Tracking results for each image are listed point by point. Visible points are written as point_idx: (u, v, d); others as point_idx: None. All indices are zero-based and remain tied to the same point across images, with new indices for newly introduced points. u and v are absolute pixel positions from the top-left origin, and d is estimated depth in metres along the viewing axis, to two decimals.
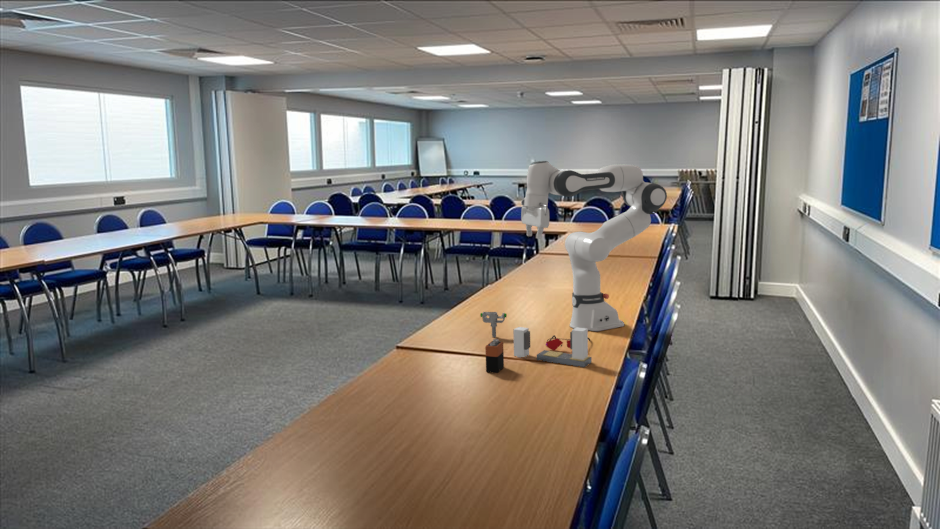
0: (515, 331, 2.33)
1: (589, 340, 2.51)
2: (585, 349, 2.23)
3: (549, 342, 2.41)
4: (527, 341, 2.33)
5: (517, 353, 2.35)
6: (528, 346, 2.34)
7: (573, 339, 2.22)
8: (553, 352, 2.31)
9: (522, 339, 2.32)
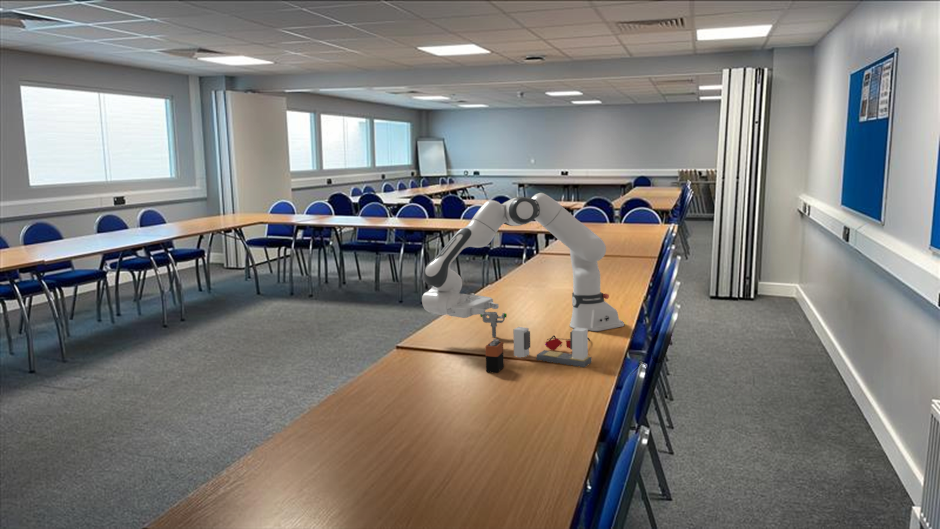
0: (515, 331, 2.33)
1: (589, 340, 2.51)
2: (585, 349, 2.23)
3: (548, 342, 2.41)
4: (527, 341, 2.33)
5: (517, 353, 2.35)
6: (528, 346, 2.34)
7: (573, 339, 2.22)
8: (553, 352, 2.31)
9: (522, 339, 2.32)
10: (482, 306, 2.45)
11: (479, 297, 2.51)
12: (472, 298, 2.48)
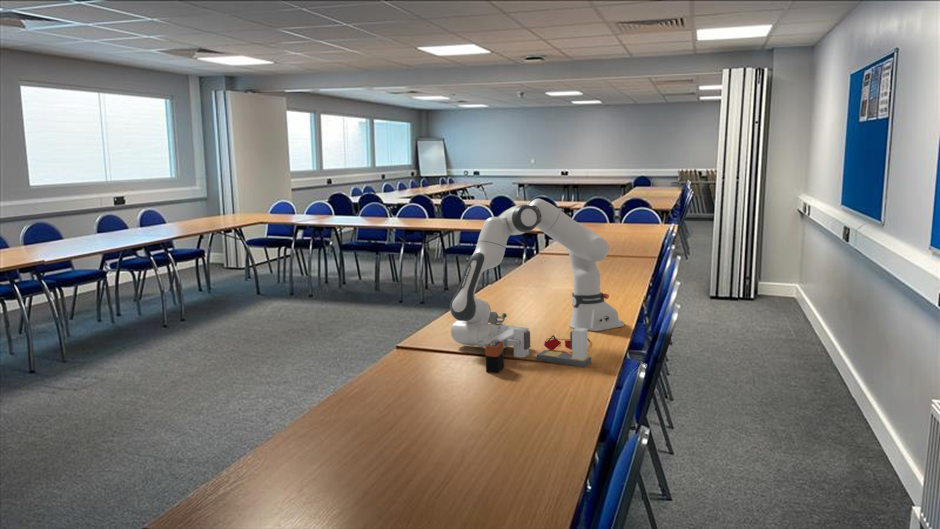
0: (515, 331, 2.33)
1: (588, 340, 2.51)
2: (585, 349, 2.23)
3: (547, 342, 2.42)
4: (527, 341, 2.33)
5: (517, 353, 2.35)
6: (528, 346, 2.34)
7: (573, 339, 2.22)
8: (553, 352, 2.31)
9: (522, 339, 2.32)
10: None
11: (510, 327, 2.46)
12: (502, 329, 2.43)
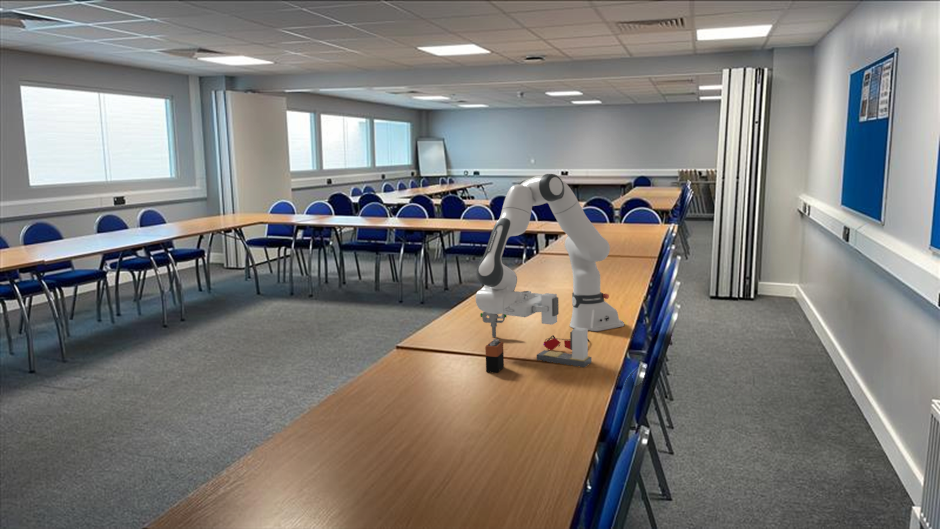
0: (543, 297, 2.26)
1: (588, 340, 2.51)
2: (585, 349, 2.23)
3: (547, 342, 2.42)
4: (555, 307, 2.26)
5: (545, 320, 2.27)
6: (556, 312, 2.27)
7: (573, 339, 2.22)
8: (553, 352, 2.31)
9: (550, 305, 2.25)
10: None
11: (536, 295, 2.38)
12: (529, 296, 2.36)
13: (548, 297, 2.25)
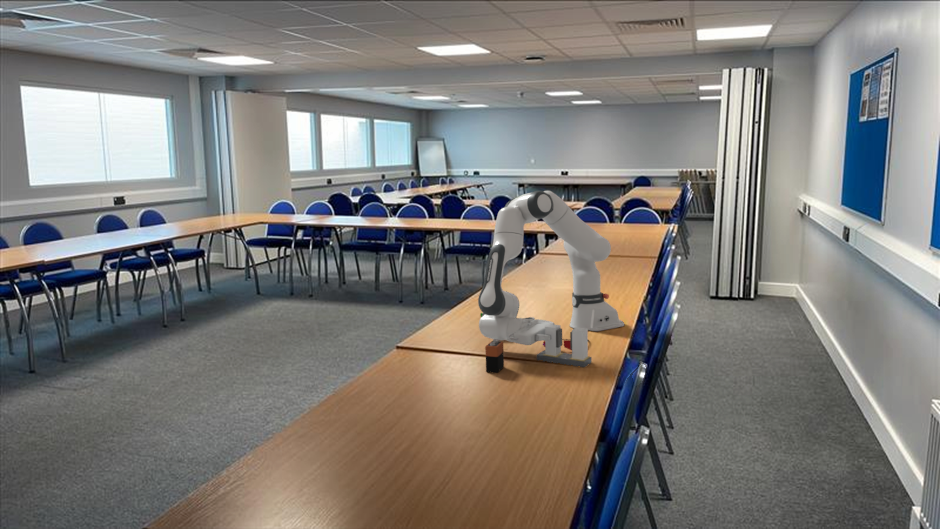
0: (547, 328, 2.27)
1: None
2: (585, 349, 2.23)
3: None
4: (559, 339, 2.27)
5: (548, 351, 2.28)
6: (560, 344, 2.28)
7: (573, 339, 2.22)
8: None
9: (554, 336, 2.26)
10: (544, 331, 2.33)
11: (540, 321, 2.39)
12: (533, 323, 2.37)
13: (552, 329, 2.26)
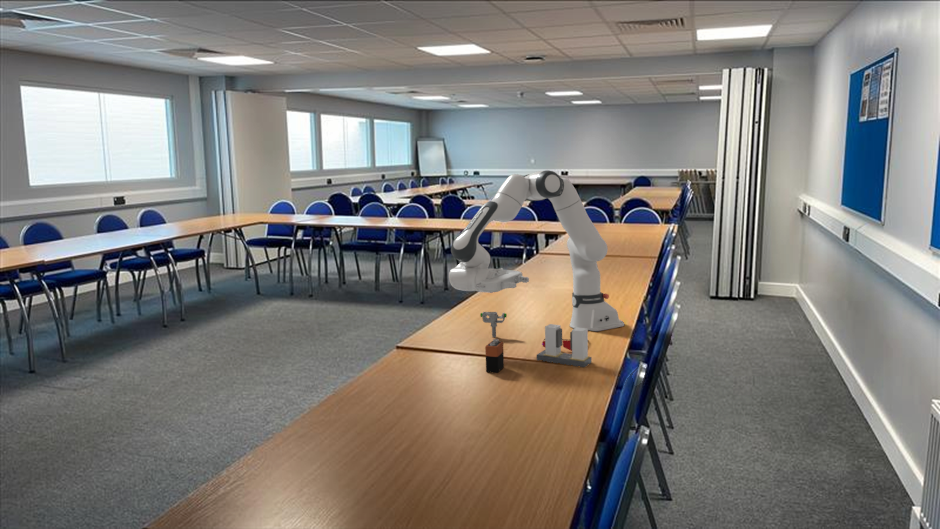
0: (547, 328, 2.27)
1: None
2: (585, 349, 2.23)
3: None
4: (559, 339, 2.27)
5: (548, 351, 2.28)
6: (560, 344, 2.28)
7: (573, 339, 2.22)
8: None
9: (554, 336, 2.26)
10: (512, 280, 2.37)
11: (508, 271, 2.43)
12: (500, 273, 2.41)
13: (552, 329, 2.26)
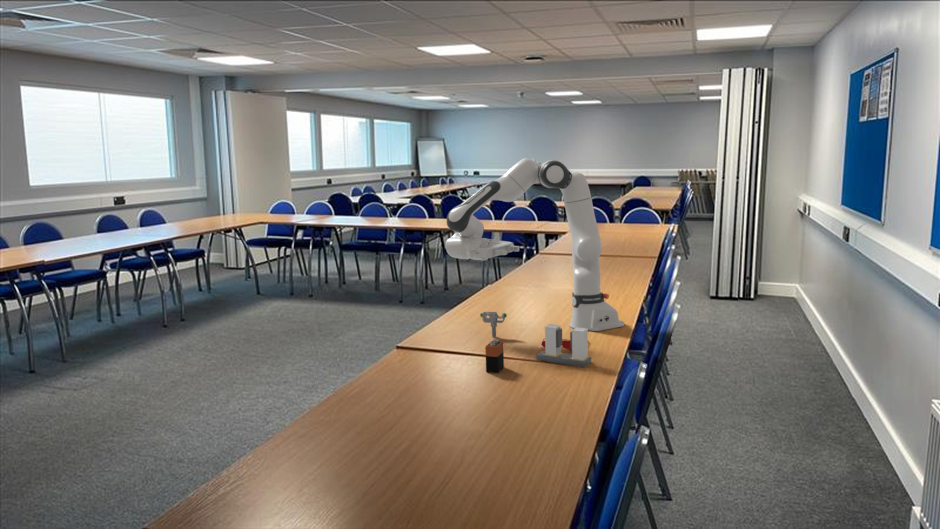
0: (547, 328, 2.27)
1: None
2: (585, 349, 2.23)
3: None
4: (559, 339, 2.27)
5: (548, 351, 2.28)
6: (560, 344, 2.28)
7: (573, 339, 2.22)
8: None
9: (554, 336, 2.26)
10: (504, 249, 2.57)
11: (500, 242, 2.63)
12: (493, 243, 2.61)
13: (552, 329, 2.26)
